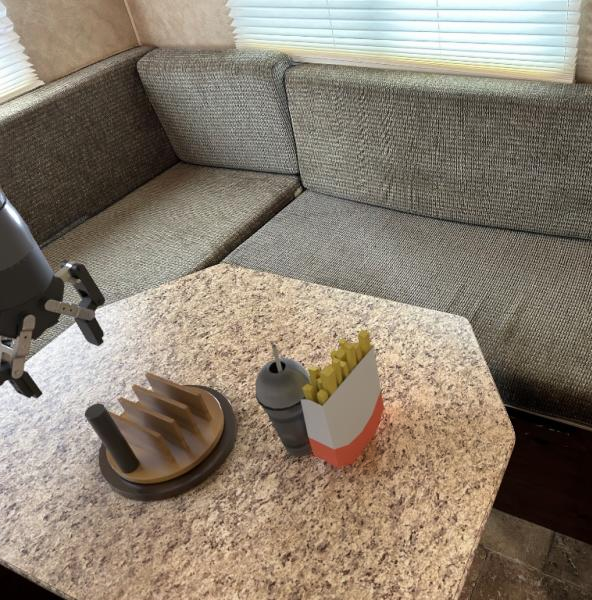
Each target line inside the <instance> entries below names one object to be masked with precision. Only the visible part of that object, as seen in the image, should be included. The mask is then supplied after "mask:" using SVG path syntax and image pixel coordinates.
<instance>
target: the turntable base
mask: <svg viewBox="0 0 592 600" xmlns="http://www.w3.org/2000/svg"><path fill="white" fill-rule="evenodd" d="M181 385H182V386H184V387H195V388H199V389H202V390H205V391H207V392H209V393H210V394H211V395H213V396H214V397H215V398H216V399H217V401H218V402H219V404H220V406H221V409H222V411H223V415H224V426H223V431H222V434H221V436H220V439H219V441H218V442H217V444H216V446H215V447H214V449H213V450H212V451H211V453H210V454H209V455H208V456H207V457H206V458H205V459H204V460H203V461H202V462H200V463H199V464H198V465H197V466H195V467H194V468H192V469H191V470H189V471H187V472H186V473H184V474H182V475H180V476H178V477H175V478H173V479H170V480H167V481H163V482H158V483H146V484H144V483H136V482H131V481H129V480H126V479H124V478H122V477H121V476H119V475H118V474H117V473H116V472H115V471H114V469H113V468H112V467H111V465H110V464H109V461H108V459H107V454H106V447H105V446H104V444H103V443H102V442H101V443H100V447H99V450H98V467H99V471H100V474H101V475H102V477H103V479H104V481H105V482H106V483H107V485H108V486H109V487H110V488H111V490H113V491H114V492H115V494H117V495H119V496H121V497H123V498H126V499H129V500H132V501H137V502H157V501H163V500H168V499H171V498H175V497H178V496H180V495H182V494H185V493H187V492H190V491H191V490H193V489H195V488H196V487H198V486H200V485H202V484H203V483H204V482H205V481H207V480H208V479H210V478H211V477H212V476H213V475H214V474H215V473H216V472H217V471H218V470H219V469H220V468H221V467H222V465H223V464H224V463H225V462H226V461H227V459H228V458H229V456H230V454H231V452H232V450H233V449H234V446H235V444H236V441H237V436H238V432H239V431H238V429H239V424H238V423H239V422H238V418H237V414H236V412H235V409H234V407H233V405H232V403H231V402H230V400H229V399H228V397H226V396H225V395H224V394H223V393H222V392H221V391H219V390H217V389H215V388H212V387H210V386H205V385H201V384H181ZM137 402H138V401H136V402H135V403H137ZM124 412H125V411H124V410H123V412H122V413H121V414H120V415H119V416H122V415H123V414H124Z"/></svg>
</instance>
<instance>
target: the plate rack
mask: <svg viewBox="0 0 592 600" xmlns="http://www.w3.org/2000/svg"><path fill="white" fill-rule="evenodd" d="M144 376H145V378H146V380H147V382H148V384H149V385H150V387H151V389H152V390H150V389H148V388H145V387H142V386H140V385H138V384H135V383H134V384H133V385H132V386H131V390H132V391H133V392H134V395H135V396H136V397H137V399H138V401H136V402H137V403H136V402H134V401H132V400H130V399H127V398H125V397H122V396H120V397H119V398H118V399H117V401H118V403H119V404H120V406H121V408H122V409H123V412H124V411H125V412H124V414H123V415H122V416H120V415H119V414H117V413H114V412H112V411H110V410H108V408H107V407H106V405H105V404H104V403H101V402H100V403H93V404H91V405H89V406H88V407H87V408H86V409H85V411H84V418H85V419H86V420H87V422H88V424H89V425H90V427H91V428H92V429H93V431H94V432H95V434H96V435H97V437H98V438H99V440H100V441H101V443H103V444H104V446H105V447H106V454H107V459H108V461H109V464H110V465H111V467H112V468H113V469H114V471H115V472H116V473H117V474H118V475H119V476H121V477H122V478H124V479H126V480H129V481H131V482H136V483H144V484H146V483H158V482H163V481H167V480H170V479H173V478H175V477H178V476H180V475H182V474H184V473H186V472H187V471H189V470H191V469H192V468H194V467H195V466H197V465H198V464H199V463H200V462H202V461H203V460H204V459H205V458H206V457H207V456H208V455H209V454H210V453H211V451H212V450H213V449H214V447H215V446H216V444H217V442H218V441H219V439H220V436H221V434H222V431H223V426H224V415H223V411H222V409H221V406H220V404H219V402H218V401H217V399H216V398H215V397H214V396H213V395H211V394H210V393H209V392H207V391H205V390H202V389H199V388H195V387H184V386H182V385H183V384H180V383H177V382H174V381H172V380H170V379H166V378H164V377H161V376H160V375H157V374H154V373H152V372H149V371H147V372H146V373H145V374H144Z"/></svg>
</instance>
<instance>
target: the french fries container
mask: <svg viewBox="0 0 592 600" xmlns="http://www.w3.org/2000/svg"><path fill="white" fill-rule="evenodd" d="M370 335H371V334H370V331H368V330H364V329H361V330H360V331H359V332H358V334H357V339H358V342H356V341H353V342H349V341H348V340H347V339H346V338H344V337H342V338H341V339H339V340H338V345H339V347H340V348H338V349H332V351H331V352H330V353H329V354H330V358H331V363H329V364H328V365H324V366H323V368H321V370H320V368H319V367H318V366H315V365H311V366H310V367H308V374H309V376H310V382H311V386H310V385H309V384H306V385H305V386H304V387H303V388H302V389H303V392H304V395H305V397H306V399H301V404H302V409H303V414H304V419H305V423H306V428H307V433H308V438H309V441H310V444H311V447H312V453H313V456H315V457H316V458H319V459H320V460H322V461H324V462H325V463H326V462H327V463H328V464H330V465H332V466H334V467H336V468H343V467H346V466H349V465H352V464H354V463H355V462H356V461H357V460H358V458H359V457H360V455H361V454H362V453H363V451H364V450H365V449H366V447H367V446H368V445H369V443H370V442H371V440H372V439H373V438H374V437H375V435H376V434H377V431H378V428H379V425H380V421H381V419H382V416H383V413H384V410H385V406H384V401H383V395H382V388H381V382H380V376H379V368H378V363H377V358H376V353H375V346H374V345H373V344H371V336H370Z"/></svg>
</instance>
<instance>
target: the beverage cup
mask: <svg viewBox="0 0 592 600" xmlns="http://www.w3.org/2000/svg"><path fill="white" fill-rule="evenodd" d="M271 348H272V352H273V355H274V359H272V360H270V361H268V362H267V363H265V364H264V365H263V366H262V367H261V369H260V370H259V371H258V373H257V376H256V379H255V383H254V384H255V385H254V386H255V399H256V401H257V403H258V404H259V405H260V406H261V408H262V409H263V411H264V412H265V413H266V414H267V416H268V419H269V420H270V423H271V424H272V426H273V428H274V430H275V432H276V433H277V436H278V438H279V439H280V441H281V444H282V445H283V447H284V448H285V450H286V452H287V453H288V455H290V456H293V457H305V456H307V455H309V454H311V453H313V451H312V447H311V444H310V441H309V438H308V433H307V428H306V423H305V419H304V414H303V409H302V404H301V399H306V397H305V395H304V392H303V389H302V388H303V387H304V386H305V385H306V384H309V385H310V386H311V382H310V376H309V372H308V371H307V370H306V368H305V367H304V365H302V364H301V363H300V362H298V361H296V360H295V359H292V358H288V357H280V356H279V351H278V348H277V344H271Z"/></svg>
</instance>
